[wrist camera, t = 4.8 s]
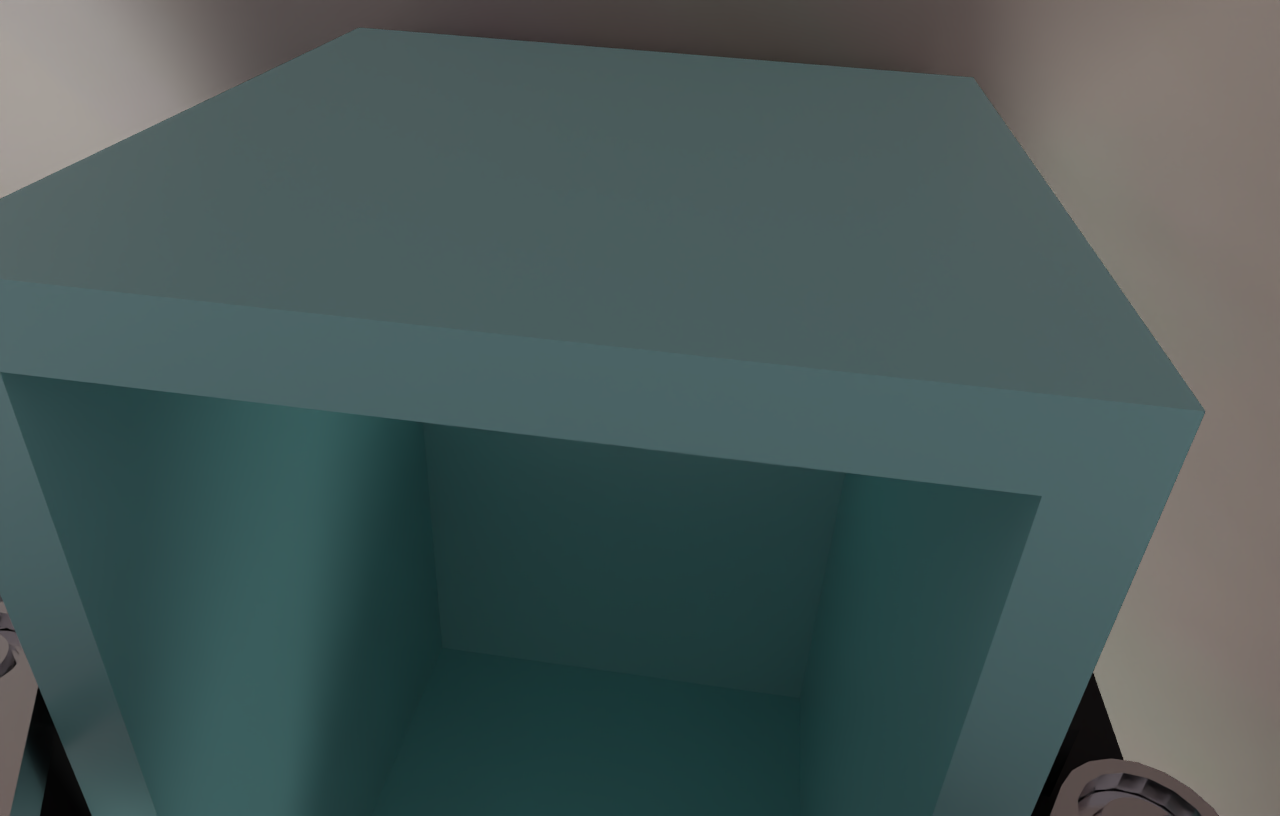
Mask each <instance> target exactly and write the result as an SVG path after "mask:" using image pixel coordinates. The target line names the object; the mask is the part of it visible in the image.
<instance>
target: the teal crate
mask: <svg viewBox="0 0 1280 816" xmlns="http://www.w3.org/2000/svg"><path fill="white" fill-rule="evenodd" d="M1204 414H1205V410H1204V409H1203V407H1202V406H1201V404H1200V403H1199V401H1198V400H1197V398H1196V397H1195V396H1194V394H1193V393H1192V391H1191V390H1190V388H1189V387H1188V386H1187V384H1186V383H1185V381H1184V380H1183V378H1182V377H1181V375H1180V374H1179V373H1178V371H1177V370H1176V368H1175V367H1174V365H1173V364H1172V363H1171V361H1170V360H1169V358H1168V357H1167V355H1166V354H1165V352H1164V351H1163V350H1162V348H1161V347H1160V345H1159V344H1158V342H1157V341H1156V340H1155V338H1154V337H1153V335H1152V334H1151V332H1150V331H1149V329H1148V328H1147V327H1146V325H1145V324H1144V322H1143V321H1142V319H1141V318H1140V317H1139V315H1138V314H1137V312H1136V311H1135V309H1134V308H1133V306H1132V305H1131V304H1130V302H1129V301H1128V299H1127V298H1126V296H1125V295H1124V294H1123V292H1122V291H1121V289H1120V288H1119V286H1118V285H1117V283H1116V282H1115V281H1114V279H1113V278H1112V276H1111V275H1110V273H1109V272H1108V271H1107V269H1106V268H1105V266H1104V265H1103V263H1102V262H1101V260H1100V259H1099V258H1098V256H1097V255H1096V253H1095V252H1094V250H1093V249H1092V248H1091V246H1090V245H1089V243H1088V242H1087V240H1086V239H1085V237H1084V236H1083V235H1082V233H1081V232H1080V230H1079V229H1078V227H1077V226H1076V224H1075V223H1074V222H1073V220H1072V219H1071V217H1070V216H1069V214H1068V213H1067V212H1066V210H1065V209H1064V207H1063V206H1062V204H1061V203H1060V201H1059V200H1058V199H1057V197H1056V196H1055V194H1054V193H1053V191H1052V190H1051V189H1050V187H1049V186H1048V184H1047V183H1046V181H1045V180H1044V178H1043V177H1042V176H1041V174H1040V173H1039V171H1038V170H1037V168H1036V167H1035V166H1034V164H1033V163H1032V161H1031V160H1030V158H1029V157H1028V155H1027V154H1026V153H1025V151H1024V150H1023V148H1022V147H1021V145H1020V144H1019V143H1018V141H1017V140H1016V138H1015V137H1014V135H1013V134H1012V132H1011V131H1010V130H1009V128H1008V127H1007V125H1006V124H1005V122H1004V121H1003V120H1002V118H1001V117H1000V115H999V114H998V112H997V111H996V109H995V108H994V107H993V105H992V104H991V102H990V101H989V99H988V98H987V97H986V95H985V94H984V92H983V91H982V89H981V88H980V86H979V85H978V84H977V82H976V81H975V79H974V78H973V77H962V76H950V75H937V74H925V73H913V72H900V71H888V70H876V69H863V68H851V67H839V66H827V65H814V64H802V63H790V62H777V61H765V60H753V59H740V58H728V57H716V56H703V55H691V54H679V53H667V52H654V51H642V50H630V49H617V48H605V47H593V46H580V45H568V44H556V43H543V42H531V41H519V40H507V39H494V38H482V37H470V36H457V35H445V34H433V33H420V32H408V31H396V30H383V29H371V28H357V29H355V30H353V31H351V32H349V33H347V34H345V35H342V36H340V37H338V38H336V39H334V40H332V41H330V42H328V43H326V44H324V45H322V46H319V47H317V48H315V49H313V50H311V51H309V52H307V53H305V54H303V55H301V56H298V57H296V58H294V59H292V60H290V61H288V62H286V63H284V64H282V65H280V66H278V67H275V68H273V69H271V70H269V71H267V72H265V73H263V74H261V75H259V76H257V77H254V78H252V79H250V80H248V81H246V82H244V83H242V84H240V85H238V86H236V87H234V88H231V89H229V90H227V91H225V92H223V93H221V94H219V95H217V96H215V97H213V98H210V99H208V100H206V101H204V102H202V103H200V104H198V105H196V106H194V107H192V108H189V109H187V110H185V111H183V112H181V113H179V114H177V115H175V116H173V117H171V118H169V119H166V120H164V121H162V122H160V123H158V124H156V125H154V126H152V127H150V128H148V129H145V130H143V131H141V132H139V133H137V134H135V135H133V136H131V137H129V138H127V139H125V140H122V141H120V142H118V143H116V144H114V145H112V146H110V147H108V148H106V149H104V150H101V151H99V152H97V153H95V154H93V155H91V156H89V157H87V158H85V159H83V160H81V161H78V162H76V163H74V164H72V165H70V166H68V167H66V168H64V169H62V170H60V171H57V172H55V173H53V174H51V175H49V176H47V177H45V178H43V179H41V180H39V181H37V182H34V183H32V184H30V185H28V186H26V187H24V188H22V189H20V190H18V191H16V192H13V193H11V194H9V195H7V196H5V197H3V198H1V199H0V595H1V598H2V600H3V602H4V605H5V607H6V610H7V612H8V614H9V617H10V619H11V622H12V624H13V626H14V629H15V631H16V634H17V636H18V639H19V641H20V643H21V646H22V648H23V651H24V653H25V655H26V658H27V660H28V663H29V665H30V667H31V670H32V672H33V675H34V677H35V680H36V682H37V684H38V687H39V689H40V692H41V694H42V696H43V699H44V701H45V704H46V706H47V709H48V711H49V713H50V716H51V718H52V721H53V723H54V725H55V728H56V730H57V733H58V735H59V737H60V740H61V742H62V745H63V747H64V750H65V752H66V754H67V757H68V759H69V762H70V764H71V766H72V769H73V771H74V774H75V776H76V778H77V781H78V783H79V786H80V788H81V791H82V793H83V795H84V798H85V800H86V803H87V805H88V807H89V810H90V812H91V815H92V816H1031V814H1032V812H1033V809H1034V807H1035V805H1036V802H1037V800H1038V798H1039V795H1040V793H1041V791H1042V789H1043V786H1044V784H1045V782H1046V779H1047V777H1048V775H1049V772H1050V770H1051V768H1052V765H1053V763H1054V761H1055V758H1056V756H1057V754H1058V752H1059V749H1060V747H1061V745H1062V742H1063V740H1064V738H1065V735H1066V733H1067V731H1068V728H1069V726H1070V724H1071V721H1072V719H1073V717H1074V715H1075V712H1076V710H1077V708H1078V705H1079V703H1080V701H1081V698H1082V696H1083V694H1084V691H1085V689H1086V687H1087V684H1088V682H1089V680H1090V677H1091V675H1092V673H1093V671H1094V668H1095V666H1096V664H1097V661H1098V659H1099V657H1100V654H1101V652H1102V650H1103V647H1104V645H1105V643H1106V640H1107V638H1108V636H1109V634H1110V631H1111V629H1112V627H1113V624H1114V622H1115V620H1116V617H1117V615H1118V613H1119V610H1120V608H1121V606H1122V603H1123V601H1124V599H1125V597H1126V594H1127V592H1128V590H1129V587H1130V585H1131V583H1132V580H1133V578H1134V576H1135V573H1136V571H1137V569H1138V566H1139V564H1140V562H1141V560H1142V557H1143V555H1144V553H1145V550H1146V548H1147V546H1148V543H1149V541H1150V539H1151V536H1152V534H1153V532H1154V529H1155V527H1156V525H1157V523H1158V520H1159V518H1160V516H1161V513H1162V511H1163V509H1164V506H1165V504H1166V502H1167V499H1168V497H1169V495H1170V492H1171V490H1172V488H1173V486H1174V483H1175V481H1176V479H1177V476H1178V474H1179V472H1180V469H1181V467H1182V465H1183V462H1184V460H1185V458H1186V455H1187V453H1188V451H1189V448H1190V446H1191V444H1192V442H1193V439H1194V437H1195V435H1196V432H1197V430H1198V428H1199V425H1200V423H1201V421H1202V418H1203V416H1204Z"/></svg>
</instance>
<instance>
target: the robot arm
mask: <svg viewBox="0 0 1280 816" xmlns="http://www.w3.org/2000/svg"><path fill="white" fill-rule="evenodd" d="M0 816H92V815H91V812H90V810H89V807H88V805H87V803H86V800H85V798H84V795H83V793H82V791H81V788H80V786H79V783H78V781H77V778H76V776H75V774H74V771H73V769H72V766H71V764H70V762H69V759H68V757H67V754H66V752H65V750H64V747H63V745H62V742H61V740H60V737H59V735H58V733H57V730H56V728H55V725H54V723H53V721H52V718H51V716H50V713H49V711H48V709H47V706H46V704H45V701H44V699H43V696H42V694H41V692H40V689H39V687H38V684H37V682H36V680H35V677H34V675H33V672H32V670H31V667H30V665H29V663H28V660H27V658H26V655H25V653H24V651H23V648H22V646H21V643H20V641H19V639H18V636H17V634H16V631H15V629H14V626H13V624H12V622H11V619H10V617H9V614H8V612H7V610H6V607H5V605H4V602H3V601H2V602H0ZM1031 816H1219V815H1218V814H1217V812H1216V811H1215V810H1214V808H1212V807H1211V806H1210V805H1209V804H1208V803H1207V802H1206V801H1205V800H1203V799H1202V798H1201V797H1200V796H1199V795H1198V794H1197V793H1195V792H1194V791H1193V790H1192V789H1191V788H1190V787H1188V786H1186V785H1185V784H1183V783H1181V782H1180V781H1178V780H1176V779H1175V778H1173V777H1171V776H1170V775H1168V774H1166V773H1165V772H1162V771H1159V770H1157V769H1154V768H1151V767H1149V766H1146V765H1143V764H1141V763H1138V762H1133V761H1126V760H1123V757H1122V754H1121V751H1120V748H1119V745H1118V742H1117V740H1116V737H1115V734H1114V731H1113V728H1112V725H1111V722H1110V720H1109V717H1108V714H1107V711H1106V708H1105V705H1104V702H1103V700H1102V697H1101V694H1100V691H1099V688H1098V685H1097V682H1096V680H1095V677H1094V674H1093V673H1092V675H1091V677H1090V680H1089V682H1088V684H1087V687H1086V689H1085V691H1084V694H1083V696H1082V698H1081V701H1080V703H1079V705H1078V708H1077V710H1076V712H1075V715H1074V717H1073V719H1072V721H1071V724H1070V726H1069V728H1068V731H1067V733H1066V735H1065V738H1064V740H1063V742H1062V745H1061V747H1060V749H1059V752H1058V754H1057V756H1056V758H1055V761H1054V763H1053V765H1052V768H1051V770H1050V772H1049V775H1048V777H1047V779H1046V782H1045V784H1044V786H1043V789H1042V791H1041V793H1040V795H1039V798H1038V800H1037V802H1036V805H1035V807H1034V809H1033V812H1032V814H1031Z"/></svg>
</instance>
